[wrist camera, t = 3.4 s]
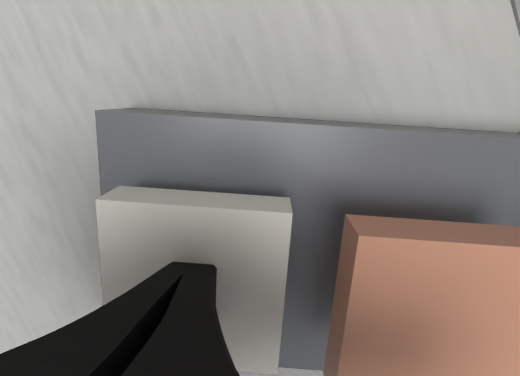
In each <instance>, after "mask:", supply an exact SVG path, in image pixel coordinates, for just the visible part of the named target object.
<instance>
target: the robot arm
mask: <svg viewBox="0 0 520 376" xmlns="http://www.w3.org/2000/svg"><path fill="white" fill-rule="evenodd" d="M216 279H217V268H216V267H215V266H214V265H213V264H199V263H186V262H171V263H169V264H168V265H166V266H165V267H163V268H162V269H160V270H159V271H157V272H156V273H154V274H153V275H151V276H150V277H148V278H147V279H145V280H144V281H142V282H141V283H139V284H138V285H136V286H135V287H133V288H132V289H130V290H128V291H127V292H125V293H124V294H122V295H120V296H119V297H117V298H115V299H114V300H112V301H110V302H108V303H107V304H105V305H103V306H102V307H100V308H98V309H97V310H95V311H93V312H91V313H89V314H88V315H86V316H84V317H82V318H80V319H78V320H76V321H74V322H72V323H70V324H68V325H66V326H64V327H62V328H60V329H58V330H56V331H54V332H52V333H49V334H47V335H45V336H43V337H40V338H38V339H36V340H33V341H31V342H28V343H26V344H23V345H21V346H19V347H16V348H14V349H11V350H9V351H6V352H4V353H2V354H0V376H239V374H238V372H237V370H236V368H235V365H234V363H233V360H232V358H231V356H230V353H229V351H228V348H227V345H226V342H225V339H224V336H223V333H222V330H221V326H220V323H219V319H218V314H217V310H216Z"/></svg>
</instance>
